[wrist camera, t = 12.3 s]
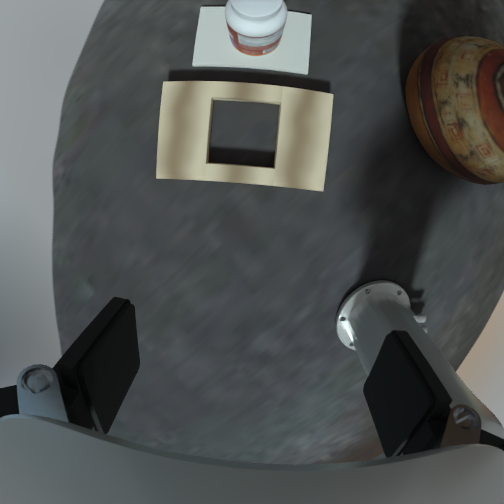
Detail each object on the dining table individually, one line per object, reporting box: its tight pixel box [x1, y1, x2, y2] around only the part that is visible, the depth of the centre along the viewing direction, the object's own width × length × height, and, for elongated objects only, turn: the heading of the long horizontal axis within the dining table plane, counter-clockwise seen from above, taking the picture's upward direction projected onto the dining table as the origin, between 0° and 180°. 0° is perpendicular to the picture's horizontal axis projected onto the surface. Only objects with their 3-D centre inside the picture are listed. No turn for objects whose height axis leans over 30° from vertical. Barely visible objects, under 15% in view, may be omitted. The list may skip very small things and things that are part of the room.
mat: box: [192, 7, 312, 75], centre depth 28 cm, size 14×9×1 cm, turn 85°
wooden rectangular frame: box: [156, 81, 333, 191], centre depth 32 cm, size 20×12×2 cm, turn 85°
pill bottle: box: [225, 0, 288, 57], centre depth 23 cm, size 6×6×11 cm
